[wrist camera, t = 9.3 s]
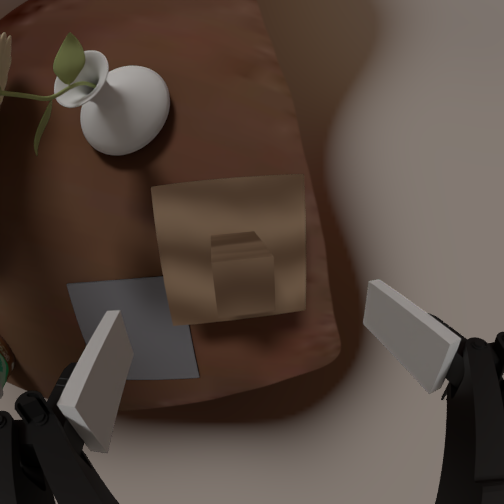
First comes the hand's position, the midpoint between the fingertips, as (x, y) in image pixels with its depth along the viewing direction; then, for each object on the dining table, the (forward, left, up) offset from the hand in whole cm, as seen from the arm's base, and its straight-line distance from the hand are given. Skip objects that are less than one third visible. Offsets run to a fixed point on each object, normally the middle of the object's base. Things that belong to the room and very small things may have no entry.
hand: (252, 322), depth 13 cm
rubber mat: (+13, -15, -21) cm, 29 cm away
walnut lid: (0, 0, -14) cm, 14 cm away
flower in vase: (-16, -12, -21) cm, 29 cm away
